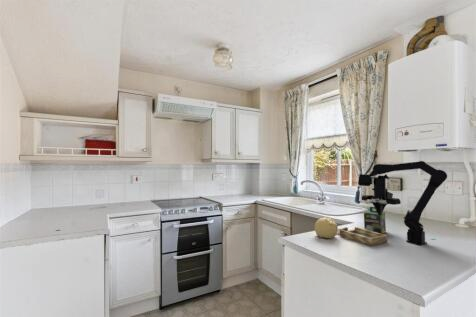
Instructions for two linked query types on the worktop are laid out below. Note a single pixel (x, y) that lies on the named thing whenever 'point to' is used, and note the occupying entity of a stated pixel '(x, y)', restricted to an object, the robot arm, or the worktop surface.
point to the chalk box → (374, 221)
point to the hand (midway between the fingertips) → (380, 215)
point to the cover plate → (341, 229)
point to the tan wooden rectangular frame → (364, 236)
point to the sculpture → (326, 228)
